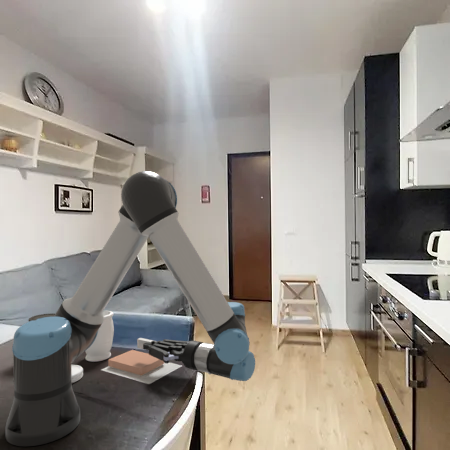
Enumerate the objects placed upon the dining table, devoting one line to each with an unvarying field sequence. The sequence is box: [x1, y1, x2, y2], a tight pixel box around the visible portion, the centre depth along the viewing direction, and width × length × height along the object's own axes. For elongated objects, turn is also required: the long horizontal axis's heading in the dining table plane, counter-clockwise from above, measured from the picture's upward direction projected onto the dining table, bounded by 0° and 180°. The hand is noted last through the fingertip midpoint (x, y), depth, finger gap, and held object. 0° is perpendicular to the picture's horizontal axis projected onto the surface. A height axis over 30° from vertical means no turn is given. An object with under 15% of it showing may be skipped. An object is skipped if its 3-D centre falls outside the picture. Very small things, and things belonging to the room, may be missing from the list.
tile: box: [107, 349, 164, 376], centre depth 114 cm, size 2×10×14 cm
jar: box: [84, 310, 115, 363], centre depth 125 cm, size 11×10×15 cm
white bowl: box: [71, 364, 84, 384], centre depth 106 cm, size 10×10×4 cm
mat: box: [100, 361, 183, 385], centre depth 113 cm, size 20×15×1 cm
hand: (139, 342), depth 113 cm, fingers closed
